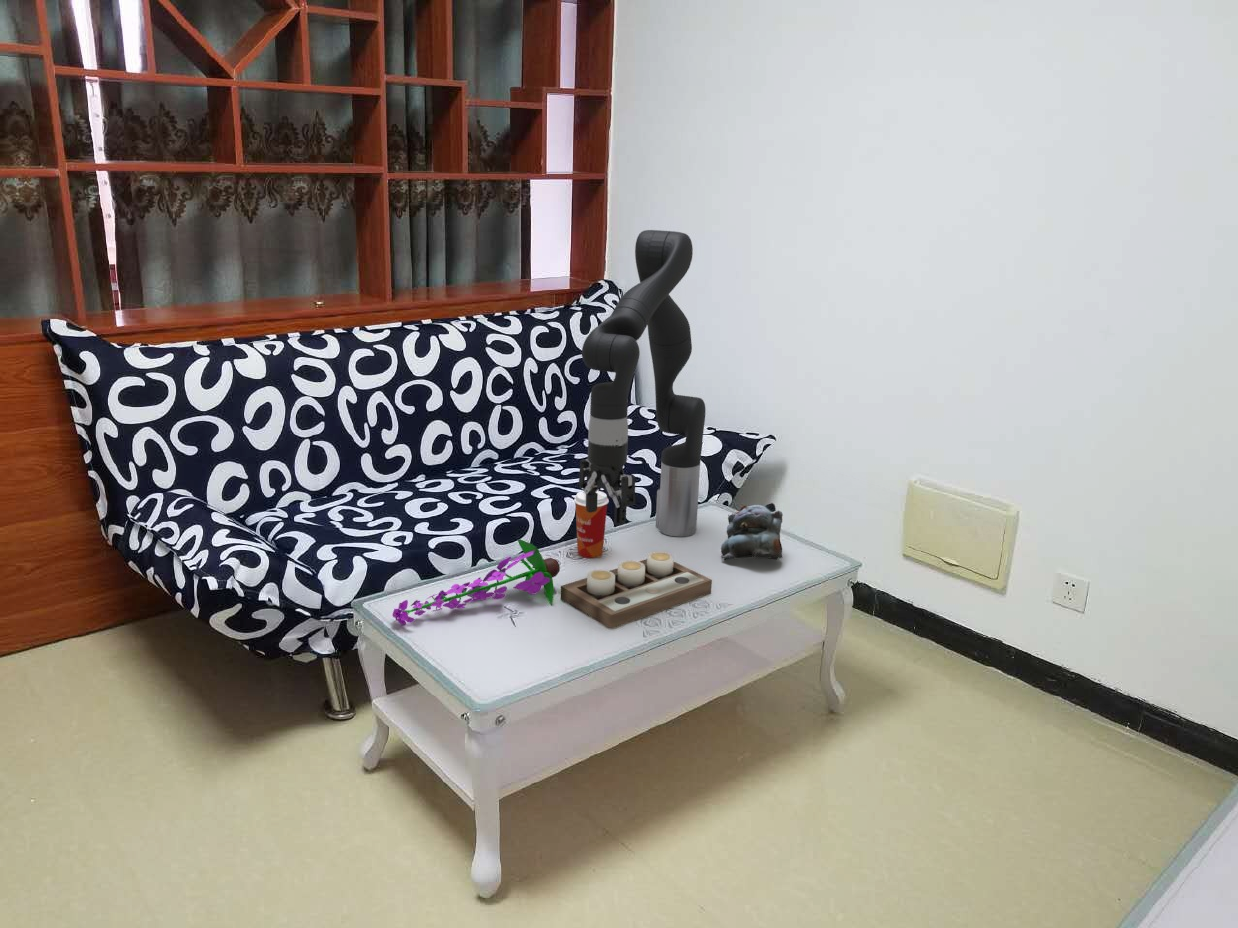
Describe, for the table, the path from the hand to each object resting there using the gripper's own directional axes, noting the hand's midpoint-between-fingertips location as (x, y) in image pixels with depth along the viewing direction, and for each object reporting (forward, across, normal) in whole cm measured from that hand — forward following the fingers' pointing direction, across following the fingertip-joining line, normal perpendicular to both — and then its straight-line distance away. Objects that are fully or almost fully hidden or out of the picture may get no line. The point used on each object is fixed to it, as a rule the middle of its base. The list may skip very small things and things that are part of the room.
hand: (605, 517), depth 189 cm
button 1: (+15, 0, 0) cm, 15 cm away
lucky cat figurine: (+18, +1, +42) cm, 46 cm away
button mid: (+15, 0, +8) cm, 17 cm away
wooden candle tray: (+18, +2, +8) cm, 20 cm away
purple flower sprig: (+19, -12, -20) cm, 31 cm away
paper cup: (+18, -21, +14) cm, 32 cm away
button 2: (+15, 0, +16) cm, 22 cm away
